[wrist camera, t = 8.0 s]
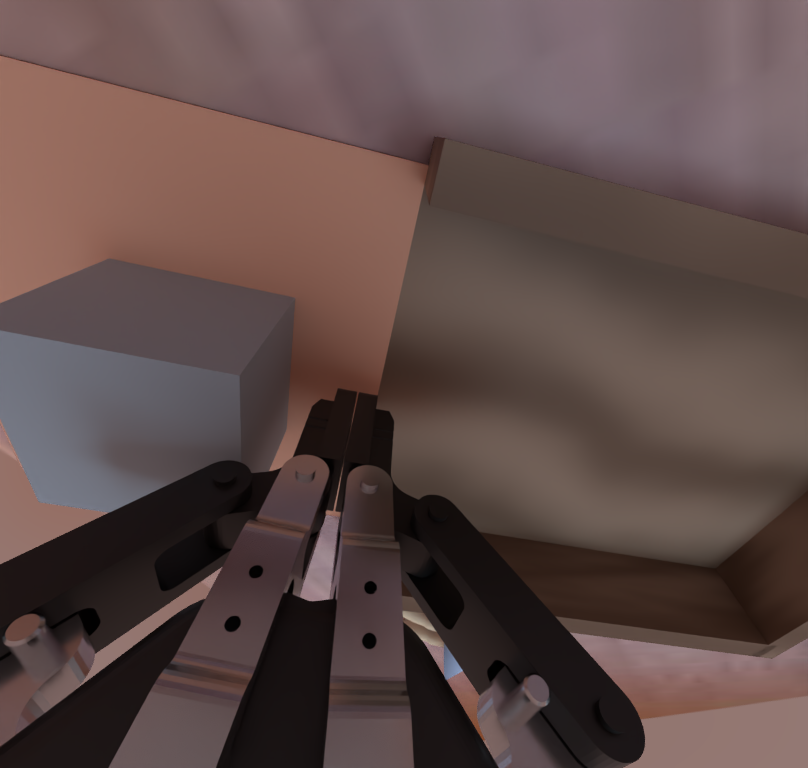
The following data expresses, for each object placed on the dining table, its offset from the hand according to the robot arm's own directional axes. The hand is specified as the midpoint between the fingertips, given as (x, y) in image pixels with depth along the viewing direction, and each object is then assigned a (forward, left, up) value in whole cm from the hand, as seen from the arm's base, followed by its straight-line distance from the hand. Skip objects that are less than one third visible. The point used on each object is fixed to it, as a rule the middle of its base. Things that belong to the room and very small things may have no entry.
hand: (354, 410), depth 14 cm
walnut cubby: (0, +11, -1) cm, 11 cm away
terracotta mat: (0, -7, -1) cm, 7 cm away
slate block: (0, -6, -1) cm, 6 cm away
